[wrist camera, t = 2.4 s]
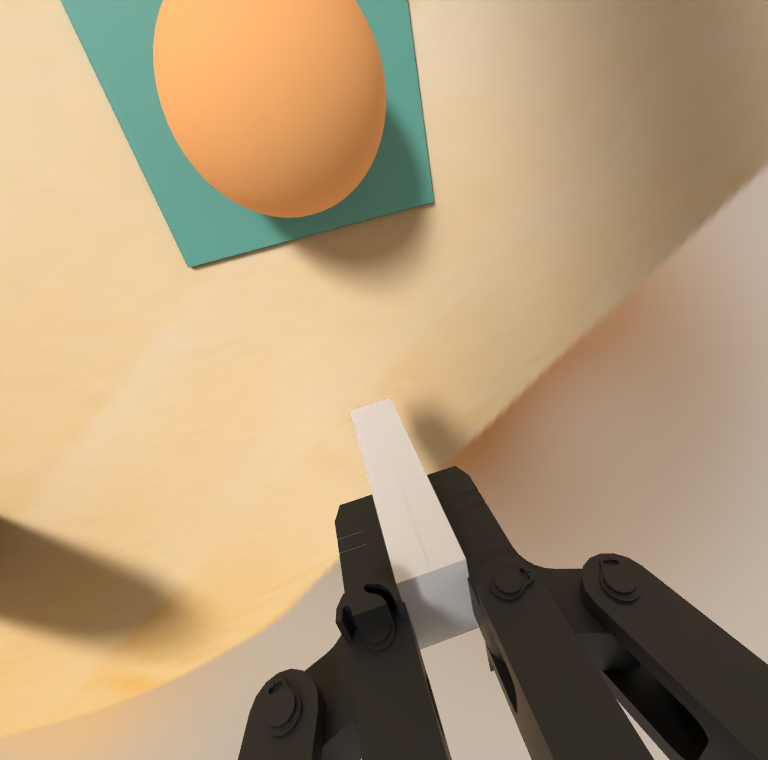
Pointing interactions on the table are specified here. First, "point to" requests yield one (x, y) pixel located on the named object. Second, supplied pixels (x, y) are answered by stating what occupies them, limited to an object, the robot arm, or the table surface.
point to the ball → (272, 98)
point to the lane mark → (200, 199)
